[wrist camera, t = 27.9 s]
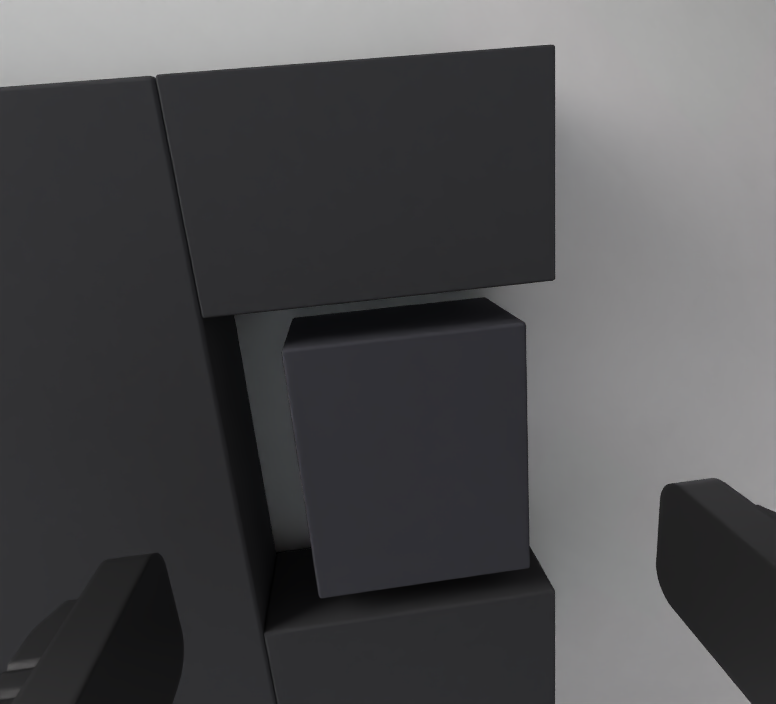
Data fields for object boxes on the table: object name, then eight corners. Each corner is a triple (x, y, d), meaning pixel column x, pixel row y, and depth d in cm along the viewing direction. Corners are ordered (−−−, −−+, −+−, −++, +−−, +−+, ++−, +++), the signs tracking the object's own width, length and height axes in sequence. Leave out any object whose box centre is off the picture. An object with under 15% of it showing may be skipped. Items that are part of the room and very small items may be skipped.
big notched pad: (504, 79, 12) (556, 43, 9) (518, 634, 17) (556, 724, 14) (-664, 173, 11) (-1028, 164, 8) (-300, 761, 15) (-447, 891, 12)
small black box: (486, 296, 14) (526, 322, 11) (493, 500, 15) (530, 569, 13) (291, 318, 13) (280, 349, 11) (321, 523, 15) (319, 600, 12)
